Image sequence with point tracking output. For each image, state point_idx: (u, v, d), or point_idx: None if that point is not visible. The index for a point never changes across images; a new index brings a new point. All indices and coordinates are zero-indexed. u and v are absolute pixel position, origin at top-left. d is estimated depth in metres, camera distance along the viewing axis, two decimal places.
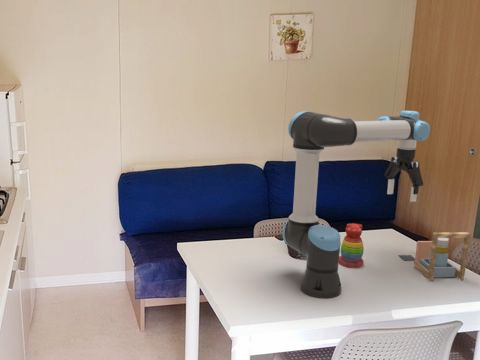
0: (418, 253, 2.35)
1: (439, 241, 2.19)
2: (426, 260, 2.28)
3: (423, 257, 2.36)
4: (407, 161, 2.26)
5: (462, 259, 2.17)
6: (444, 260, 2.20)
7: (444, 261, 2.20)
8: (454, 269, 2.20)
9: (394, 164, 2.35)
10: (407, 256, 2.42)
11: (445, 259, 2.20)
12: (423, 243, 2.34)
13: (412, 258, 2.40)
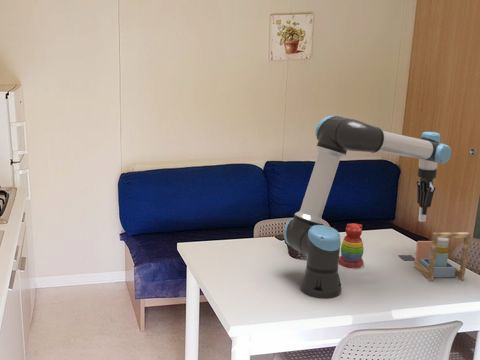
0: (418, 253, 2.35)
1: (439, 241, 2.19)
2: (426, 260, 2.28)
3: (423, 257, 2.36)
4: (427, 181, 2.32)
5: (462, 259, 2.17)
6: (444, 260, 2.20)
7: (444, 261, 2.20)
8: (454, 269, 2.20)
9: None
10: (407, 256, 2.42)
11: (445, 259, 2.20)
12: (423, 243, 2.34)
13: (412, 258, 2.40)
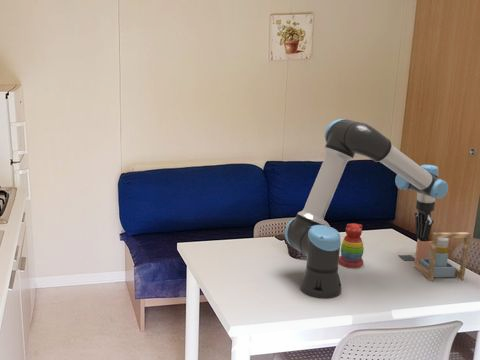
0: (418, 253, 2.35)
1: (439, 241, 2.19)
2: (426, 260, 2.28)
3: (423, 257, 2.36)
4: (425, 213, 2.33)
5: (462, 259, 2.17)
6: (444, 260, 2.20)
7: (444, 261, 2.20)
8: (454, 269, 2.20)
9: None
10: (407, 256, 2.42)
11: (445, 259, 2.20)
12: (423, 243, 2.34)
13: (412, 258, 2.40)
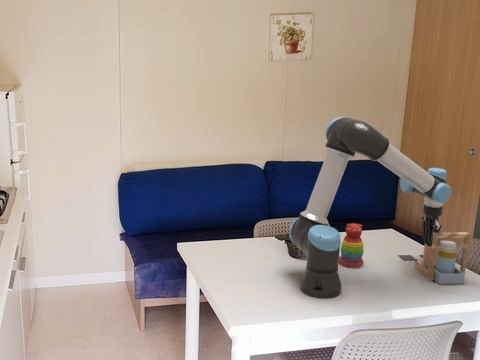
0: (425, 259, 2.28)
1: (447, 246, 2.14)
2: (434, 266, 2.22)
3: None
4: (433, 218, 2.26)
5: (462, 259, 2.17)
6: (452, 265, 2.15)
7: (452, 266, 2.15)
8: (463, 276, 2.13)
9: None
10: (407, 256, 2.42)
11: (453, 264, 2.15)
12: (430, 248, 2.28)
13: (412, 258, 2.40)
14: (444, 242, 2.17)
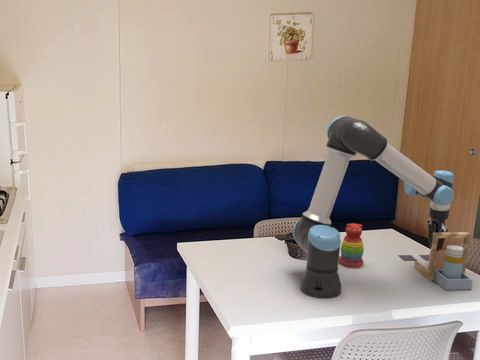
0: None
1: (453, 251, 2.08)
2: (440, 271, 2.16)
3: (436, 268, 2.24)
4: (439, 222, 2.21)
5: None
6: (458, 270, 2.10)
7: (458, 271, 2.10)
8: (470, 281, 2.08)
9: None
10: (407, 256, 2.42)
11: (459, 269, 2.10)
12: (437, 253, 2.23)
13: (412, 258, 2.40)
14: (451, 247, 2.12)
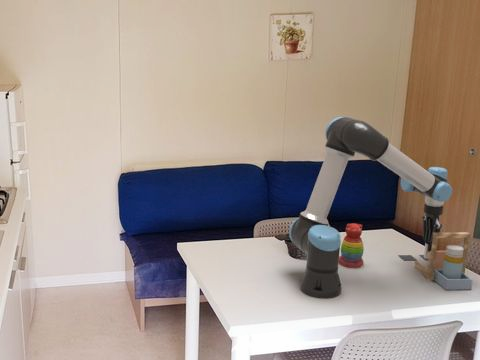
0: None
1: (453, 251, 2.08)
2: (440, 271, 2.16)
3: (436, 267, 2.24)
4: (433, 217, 2.26)
5: None
6: (458, 270, 2.10)
7: (458, 271, 2.10)
8: (470, 281, 2.08)
9: None
10: (407, 256, 2.42)
11: (460, 269, 2.10)
12: (436, 253, 2.23)
13: (412, 258, 2.40)
14: (451, 247, 2.12)
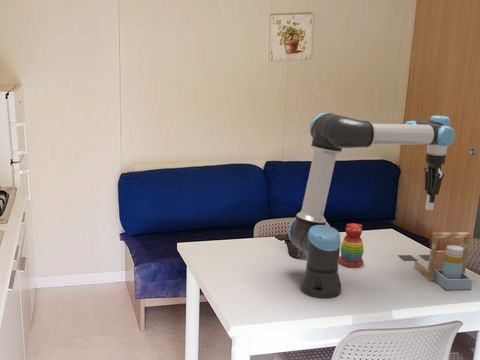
0: None
1: (453, 251, 2.08)
2: (440, 271, 2.16)
3: (436, 267, 2.24)
4: (435, 166, 2.22)
5: None
6: (458, 270, 2.10)
7: (458, 271, 2.10)
8: (470, 281, 2.08)
9: None
10: (407, 256, 2.42)
11: (460, 269, 2.10)
12: (436, 253, 2.23)
13: (412, 258, 2.40)
14: (451, 247, 2.12)
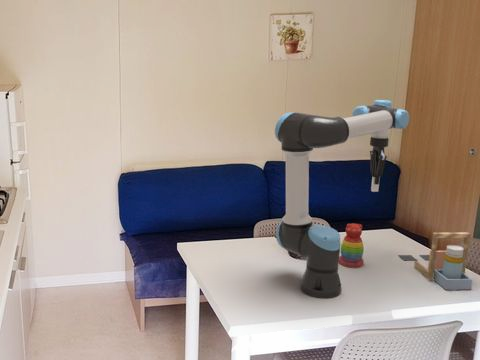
0: None
1: (453, 251, 2.08)
2: (440, 271, 2.16)
3: (436, 267, 2.24)
4: (378, 149, 2.29)
5: None
6: (458, 270, 2.10)
7: (458, 271, 2.10)
8: (470, 281, 2.08)
9: None
10: (407, 256, 2.42)
11: (460, 269, 2.10)
12: (436, 253, 2.23)
13: (412, 258, 2.40)
14: (451, 247, 2.12)
